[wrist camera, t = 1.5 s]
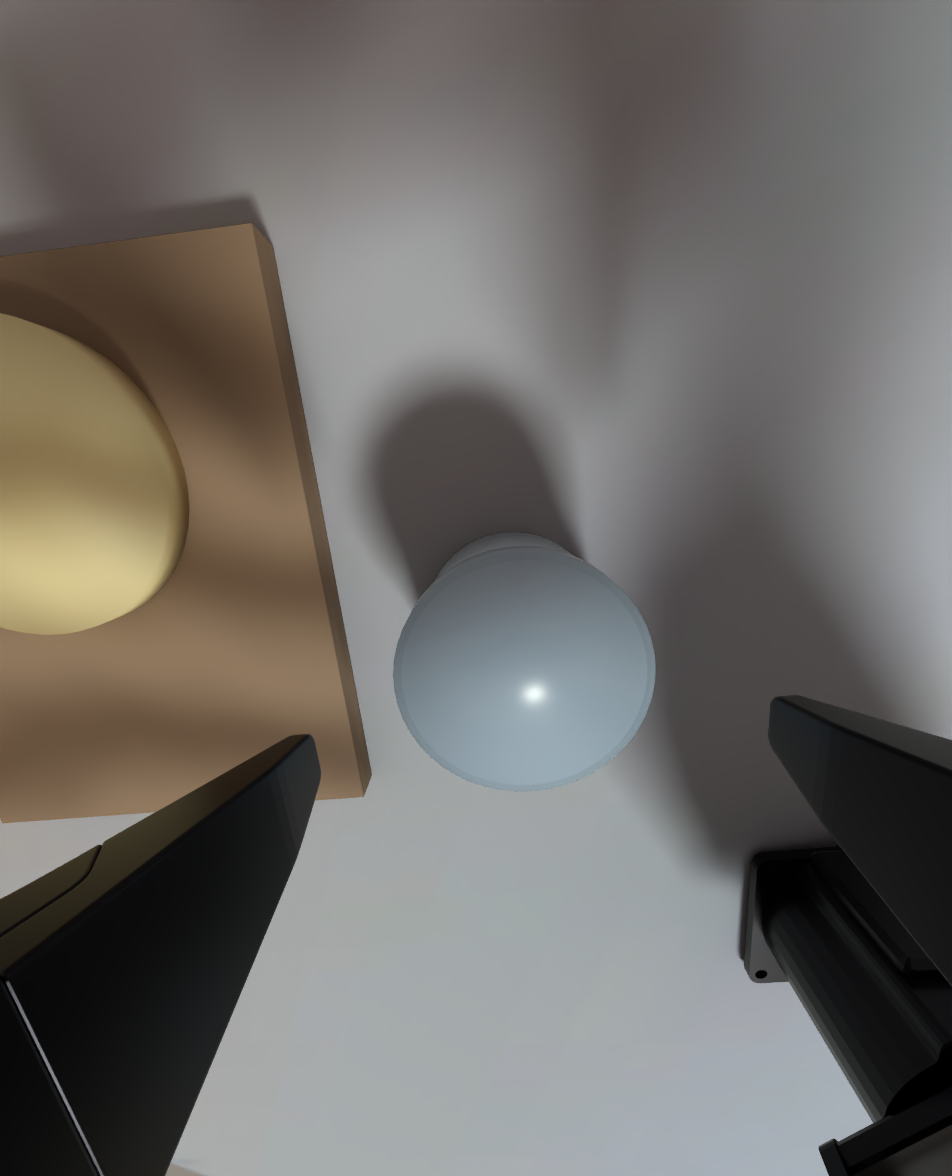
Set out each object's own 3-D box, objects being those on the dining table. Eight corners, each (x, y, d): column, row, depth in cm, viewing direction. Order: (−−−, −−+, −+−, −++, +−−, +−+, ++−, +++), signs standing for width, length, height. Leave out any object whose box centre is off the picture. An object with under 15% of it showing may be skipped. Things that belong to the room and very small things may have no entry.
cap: (604, 690, 16) (656, 782, 11) (433, 704, 17) (412, 800, 12) (599, 516, 15) (655, 538, 10) (409, 535, 15) (374, 565, 10)
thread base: (371, 775, 17) (355, 817, 15) (33, 800, 18) (-28, 844, 16) (272, 245, 13) (230, 200, 11) (-174, 304, 13) (-298, 272, 11)
